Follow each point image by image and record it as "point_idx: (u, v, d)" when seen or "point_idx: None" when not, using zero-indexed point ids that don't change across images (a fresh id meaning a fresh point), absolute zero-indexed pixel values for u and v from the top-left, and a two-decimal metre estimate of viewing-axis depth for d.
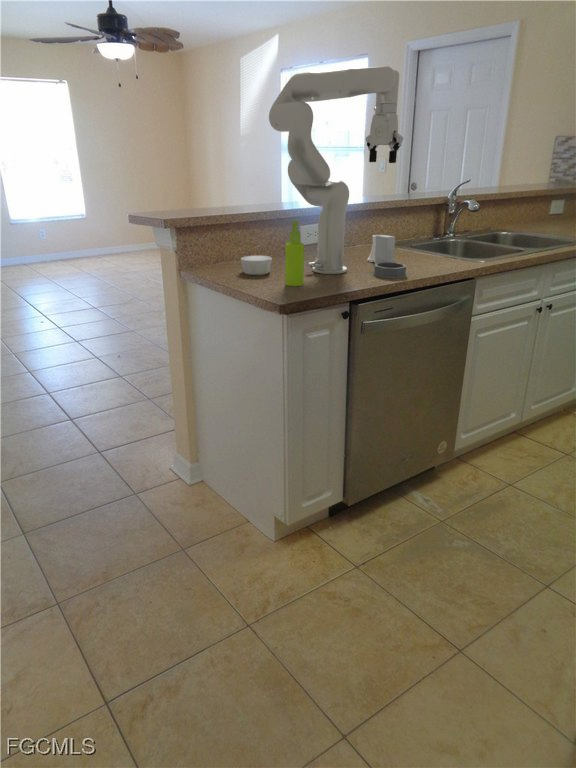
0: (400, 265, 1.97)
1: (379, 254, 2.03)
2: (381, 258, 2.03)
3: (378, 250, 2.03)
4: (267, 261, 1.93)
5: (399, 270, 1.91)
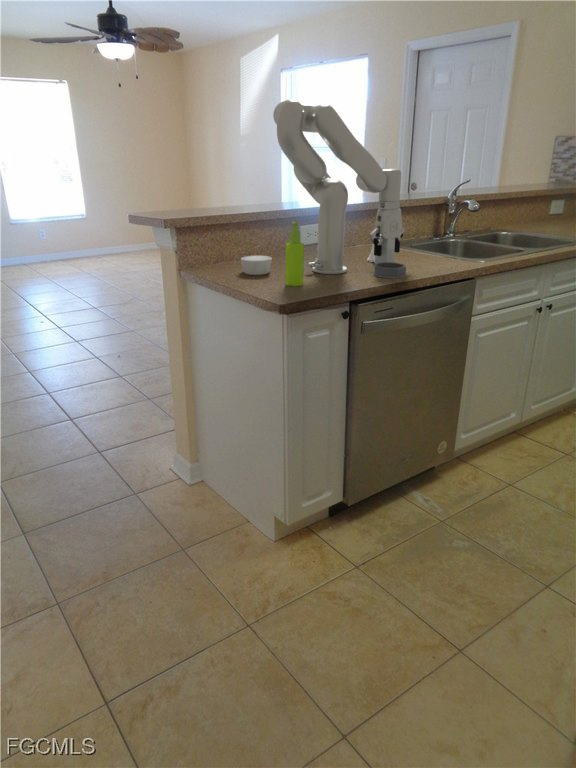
0: (400, 265, 1.97)
1: None
2: (381, 258, 2.03)
3: None
4: (267, 261, 1.93)
5: (399, 270, 1.91)
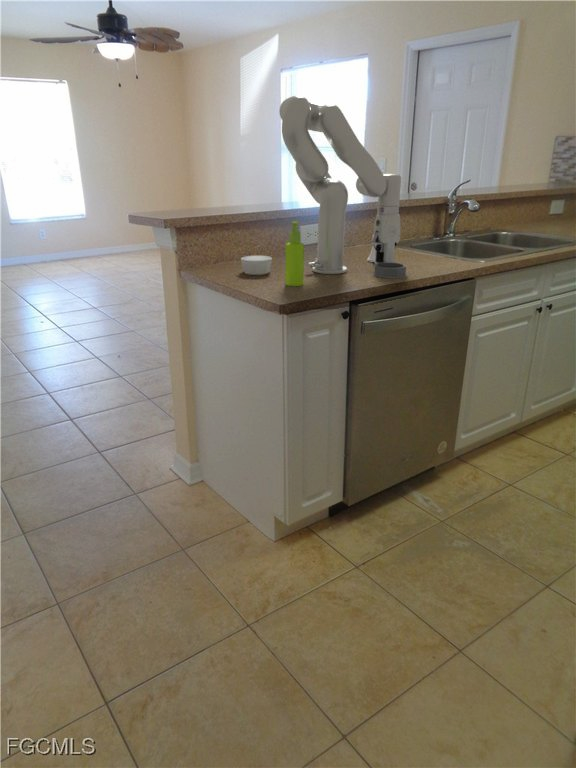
0: (400, 265, 1.97)
1: None
2: None
3: None
4: (267, 261, 1.93)
5: (399, 270, 1.91)
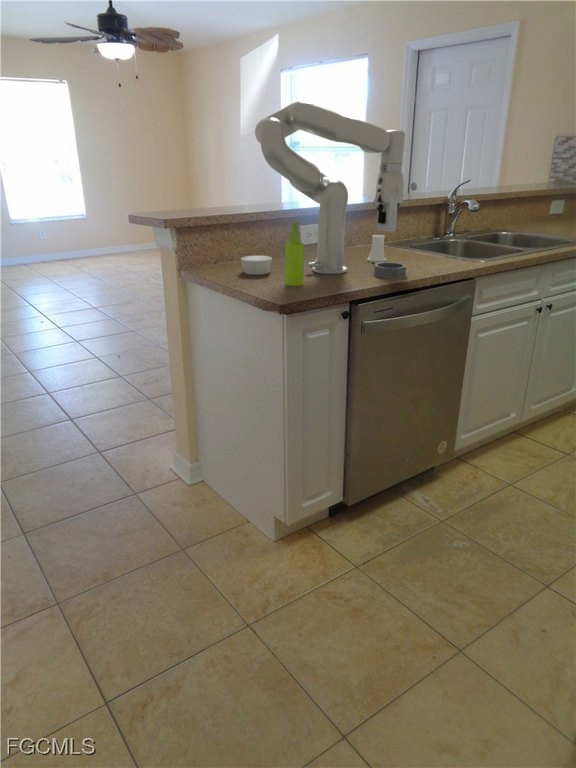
0: (400, 265, 1.97)
1: None
2: None
3: None
4: (267, 261, 1.93)
5: (399, 270, 1.91)
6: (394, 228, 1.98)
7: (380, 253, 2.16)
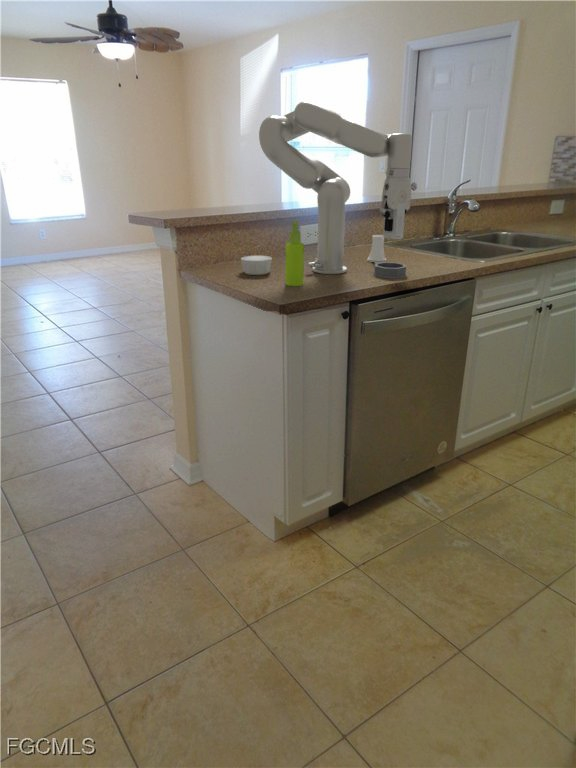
0: (400, 265, 1.97)
1: None
2: None
3: None
4: (267, 261, 1.93)
5: (399, 270, 1.91)
6: (401, 236, 1.89)
7: (380, 253, 2.16)
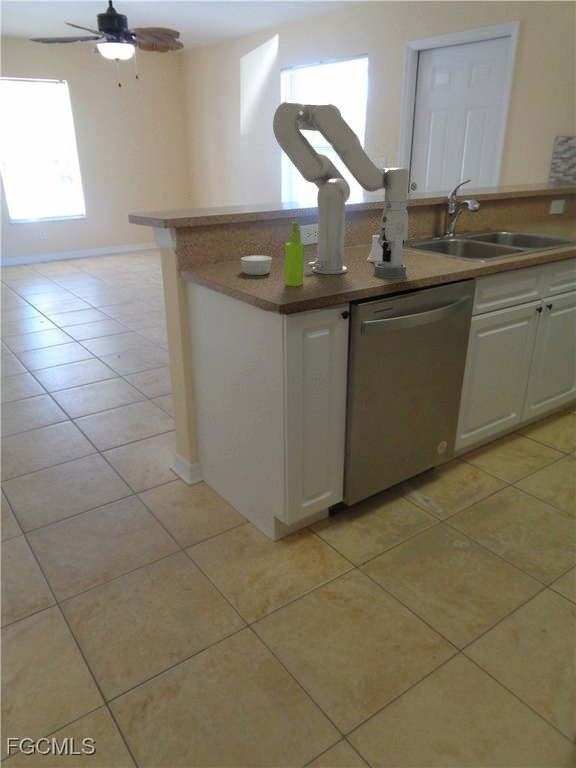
0: None
1: None
2: None
3: None
4: (267, 261, 1.93)
5: (399, 270, 1.91)
6: (400, 266, 1.93)
7: (380, 253, 2.16)
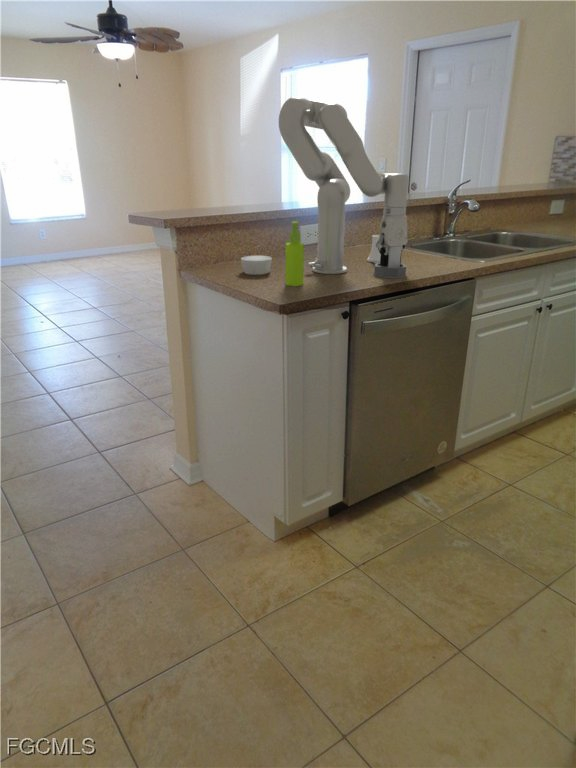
0: (400, 265, 1.97)
1: (393, 259, 1.92)
2: (395, 262, 1.93)
3: (393, 255, 1.91)
4: (267, 261, 1.93)
5: (399, 270, 1.91)
6: None
7: None
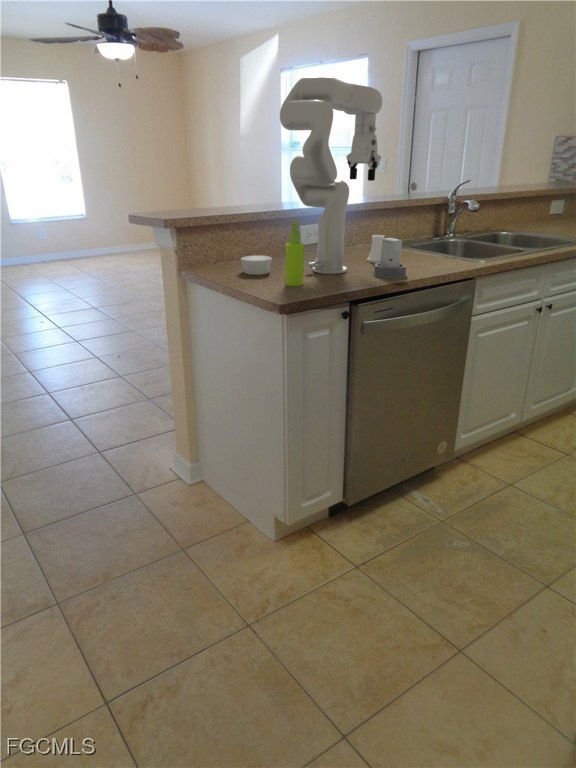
0: (400, 265, 1.97)
1: None
2: None
3: None
4: (267, 261, 1.93)
5: (399, 270, 1.91)
6: None
7: (380, 253, 2.16)
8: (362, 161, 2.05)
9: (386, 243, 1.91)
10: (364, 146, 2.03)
